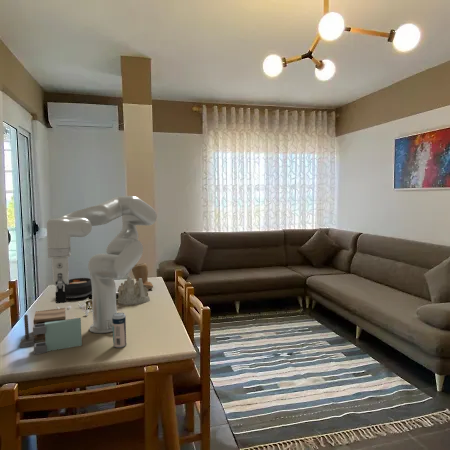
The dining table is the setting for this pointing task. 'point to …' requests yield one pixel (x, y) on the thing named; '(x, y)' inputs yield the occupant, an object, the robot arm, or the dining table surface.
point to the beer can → (119, 330)
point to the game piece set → (80, 307)
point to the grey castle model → (132, 292)
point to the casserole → (78, 288)
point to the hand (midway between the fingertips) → (61, 299)
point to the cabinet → (39, 319)
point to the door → (58, 335)
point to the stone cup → (142, 274)
